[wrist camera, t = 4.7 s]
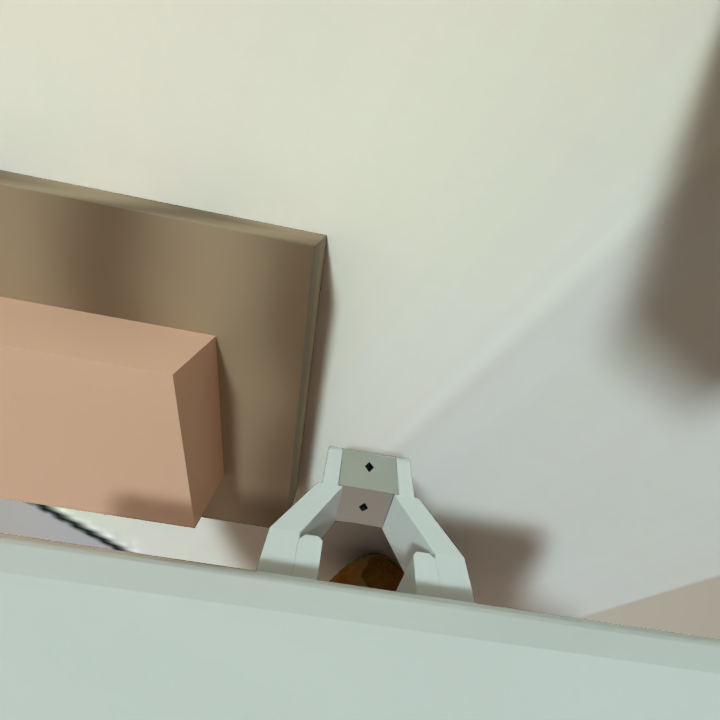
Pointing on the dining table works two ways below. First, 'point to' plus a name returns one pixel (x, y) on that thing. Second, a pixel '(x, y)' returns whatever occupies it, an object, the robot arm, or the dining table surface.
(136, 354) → the terracotta tile
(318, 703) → the robot arm
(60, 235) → the walnut stand
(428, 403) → the dining table surface
